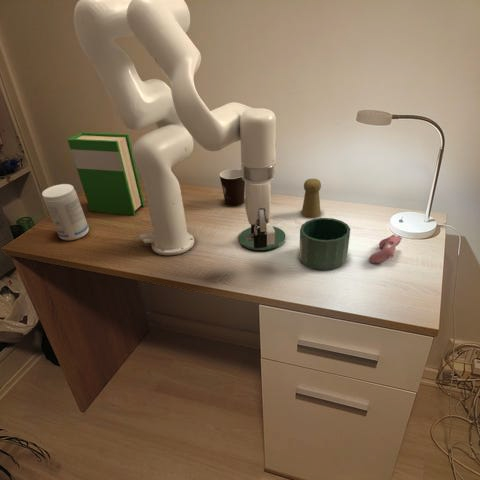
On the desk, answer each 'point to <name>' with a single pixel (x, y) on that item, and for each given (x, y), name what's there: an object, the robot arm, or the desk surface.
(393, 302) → the desk surface
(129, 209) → the hardback book
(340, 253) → the tin
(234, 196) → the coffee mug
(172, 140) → the robot arm
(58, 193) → the supplement tub
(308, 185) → the olive pawn figure
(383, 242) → the pink toy animal
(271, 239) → the usb wall charger
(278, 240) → the tin lid
